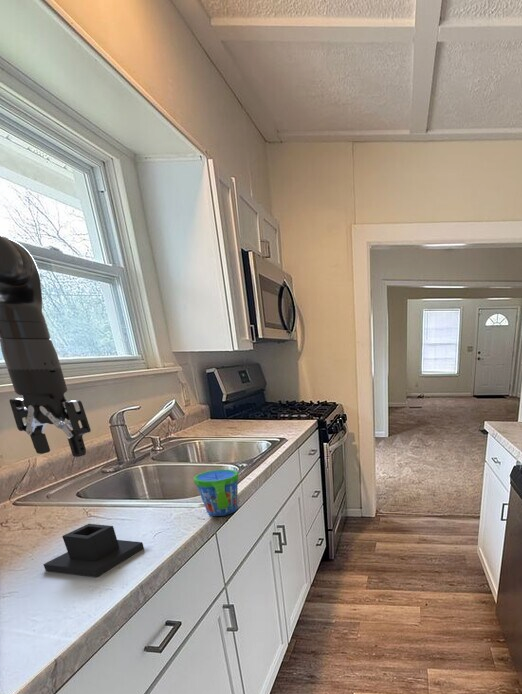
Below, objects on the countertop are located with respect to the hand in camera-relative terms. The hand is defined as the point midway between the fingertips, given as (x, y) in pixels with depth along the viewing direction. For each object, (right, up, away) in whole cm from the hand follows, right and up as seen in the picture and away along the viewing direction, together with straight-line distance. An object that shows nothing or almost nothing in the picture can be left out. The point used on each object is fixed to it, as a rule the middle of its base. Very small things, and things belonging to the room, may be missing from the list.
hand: (61, 454), depth 78 cm
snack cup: (+20, -11, +28) cm, 36 cm away
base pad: (+4, -21, +4) cm, 22 cm away
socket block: (+4, -20, +4) cm, 20 cm away
